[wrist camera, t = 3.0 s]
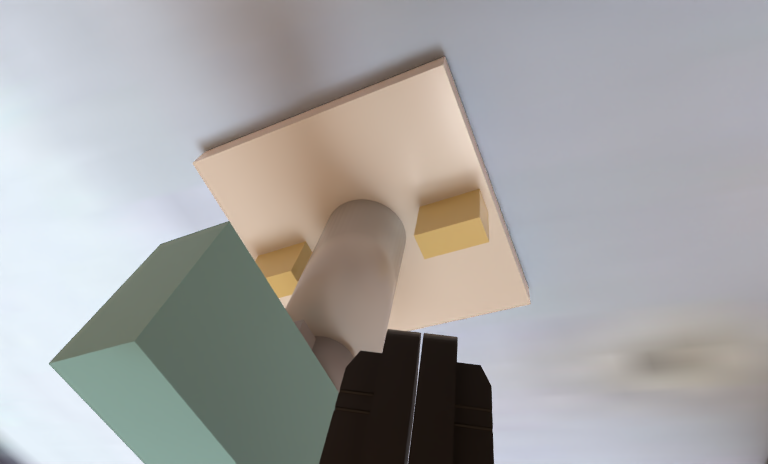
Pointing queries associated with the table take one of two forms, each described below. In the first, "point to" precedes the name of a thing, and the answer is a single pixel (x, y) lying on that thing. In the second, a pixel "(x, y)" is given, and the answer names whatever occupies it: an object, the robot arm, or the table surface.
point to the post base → (379, 166)
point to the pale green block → (206, 361)
